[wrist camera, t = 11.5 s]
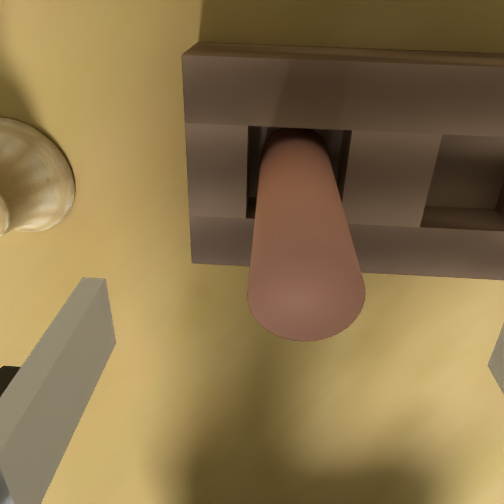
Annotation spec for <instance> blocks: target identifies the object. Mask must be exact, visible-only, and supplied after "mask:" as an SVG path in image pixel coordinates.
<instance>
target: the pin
mask: <svg viewBox="0 0 504 504" xmlns="http://www.w3.org/2000/svg"><path fill="white" fill-rule="evenodd" d="M247 295H248V304H249V307H250V310H251V312H252V314H253V316H254V317H255V319H256V320H257V321H258V322H259V323H260V324H261V325H262V326H263V327H264V328H265V329H267V330H268V331H269V332H271V333H273V334H275V335H277V336H279V337H282V338H285V339H289V340H294V341H316V340H321V339H325V338H328V337H331V336H333V335H336V334H338V333H339V332H341V331H343V330H344V329H346V328H347V327H348V326H349V325H350V324H351V323H353V321H354V320H355V319H356V318H357V316H358V315H359V313H360V312H361V309H362V307H363V304H364V301H365V286H364V281H363V278H362V274H361V270H360V267H359V263H358V260H357V256H356V252H355V249H354V245H353V242H352V238H351V234H350V231H349V227H348V224H347V220H346V217H345V213H344V209H343V206H342V202H341V199H340V195H339V191H338V188H337V184H336V181H335V177H334V173H333V170H332V166H331V163H330V159H329V155H328V152H327V148H326V145H325V143H324V141H323V139H322V138H321V137H320V136H319V135H318V134H317V133H316V132H315V131H314V130H312V129H309V128H285V127H282V128H280V129H278V130H277V131H275V132H274V133H273V134H271V135H270V136H269V138H268V139H267V140H266V142H265V144H264V146H263V149H262V153H261V162H260V172H259V183H258V193H257V203H256V213H255V223H254V233H253V243H252V253H251V263H250V273H249V283H248V293H247Z"/></svg>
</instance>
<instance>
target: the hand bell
mask: <svg viewBox="0 0 504 504" xmlns="http://www.w3.org/2000/svg"><path fill="white" fill-rule="evenodd" d="M74 196H75V185H74V179H73V175H72V172H71V169H70V167H69V164H68V163H67V161H66V159H65V157H64V156H63V154H62V153H61V151H60V150H59V149H58V148H57V146H56V145H55V144H54V143H53V142H52V141H51V140H49V139H48V138H47V137H46V136H45V135H43V134H42V133H41V132H39V131H38V130H36V129H35V128H33V127H31V126H29V125H27V124H25V123H23V122H20V121H17V120H14V119H9V118H0V237H1V236H2V235H4V234H5V233H7V232H9V231H11V230H16V231H22V232H35V231H42V230H46V229H49V228H52V227H54V226H55V225H57V224H59V223H60V222H61V221H62V220H64V219H65V217H66V216H67V215H68V213H69V212H70V210H71V208H72V205H73V202H74Z"/></svg>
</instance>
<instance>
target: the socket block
mask: <svg viewBox="0 0 504 504" xmlns="http://www.w3.org/2000/svg"><path fill="white" fill-rule="evenodd" d="M182 74H183V94H184V114H185V134H186V155H187V175H188V195H189V215H190V236H191V256H192V263H198V264H216V265H235V266H250V263H251V253H252V243H253V233H254V223H255V213H256V203H257V193H258V183H259V172H260V162H261V153H262V149H263V146H264V144H265V142H266V140H267V139H268V138H269V136H270V135H271V134H273V133H274V132H275V131H277V130H278V129H280V128H282V127H285V128H309V129H312V130H314V131H315V132H316V133H317V134H318V135H319V136H320V137H321V138H322V139H323V141H324V143H325V145H326V148H327V152H328V155H329V159H330V163H331V166H332V170H333V173H334V177H335V181H336V184H337V188H338V191H339V195H340V199H341V202H342V206H343V209H344V213H345V217H346V220H347V224H348V227H349V231H350V234H351V238H352V242H353V245H354V249H355V252H356V256H357V260H358V263H359V267H360V270H361V272H363V273H381V274H400V275H418V276H436V277H455V278H473V279H491V280H504V54H502V53H475V52H448V51H421V50H394V49H367V48H340V47H313V46H286V45H259V44H231V43H204V42H198V43H196V44H195V45H194V46H193V47H191V48H190V49H189V50H187V51H186V52H185V53H184V54H182Z"/></svg>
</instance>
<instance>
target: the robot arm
mask: <svg viewBox="0 0 504 504" xmlns="http://www.w3.org/2000/svg"><path fill="white" fill-rule="evenodd" d="M115 344H116V340H115V334H114V327H113V321H112V315H111V309H110V302H109V296H108V290H107V283H106V279H103V278H85V277H83V278H82V279H81V281H80V282H79V284H78V285H77V286H76V288H75V289H74V291H73V292H72V294H71V295H70V297H69V298H68V300H67V301H66V302H65V304H64V305H63V307H62V308H61V310H60V311H59V313H58V314H57V316H56V317H55V318H54V320H53V321H52V323H51V324H50V326H49V327H48V329H47V330H46V332H45V333H44V334H43V336H42V337H41V339H40V340H39V342H38V343H37V345H36V346H35V348H34V349H33V350H32V352H31V353H30V355H29V356H28V358H27V359H26V361H25V362H24V364H23V365H22V366H21V367H14V366H3V367H1V368H0V504H41V502H42V500H43V498H44V496H45V494H46V491H47V489H48V487H49V485H50V483H51V481H52V479H53V476H54V474H55V472H56V470H57V468H58V466H59V464H60V461H61V459H62V457H63V455H64V453H65V451H66V449H67V446H68V444H69V442H70V440H71V438H72V436H73V434H74V432H75V429H76V427H77V425H78V423H79V421H80V419H81V417H82V414H83V412H84V410H85V408H86V406H87V404H88V402H89V399H90V397H91V395H92V393H93V391H94V389H95V387H96V384H97V382H98V380H99V378H100V376H101V374H102V372H103V369H104V367H105V365H106V363H107V361H108V359H109V357H110V355H111V352H112V350H113V348H114V346H115ZM488 367H489V369H490V370H491V372H492V374H493V376H494V378H495V380H496V381H497V383H498V385H499V387H500V389H501V391H502V392H503V394H504V324H503V327H502V329H501V332H500V335H499V337H498V340H497V342H496V345H495V347H494V350H493V353H492V355H491V358H490V360H489V363H488Z"/></svg>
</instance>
